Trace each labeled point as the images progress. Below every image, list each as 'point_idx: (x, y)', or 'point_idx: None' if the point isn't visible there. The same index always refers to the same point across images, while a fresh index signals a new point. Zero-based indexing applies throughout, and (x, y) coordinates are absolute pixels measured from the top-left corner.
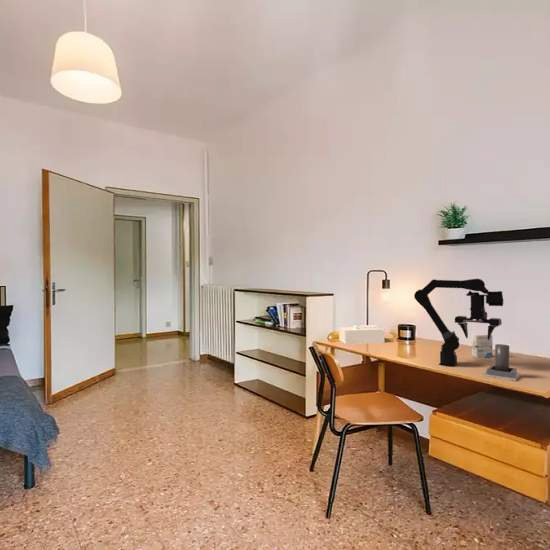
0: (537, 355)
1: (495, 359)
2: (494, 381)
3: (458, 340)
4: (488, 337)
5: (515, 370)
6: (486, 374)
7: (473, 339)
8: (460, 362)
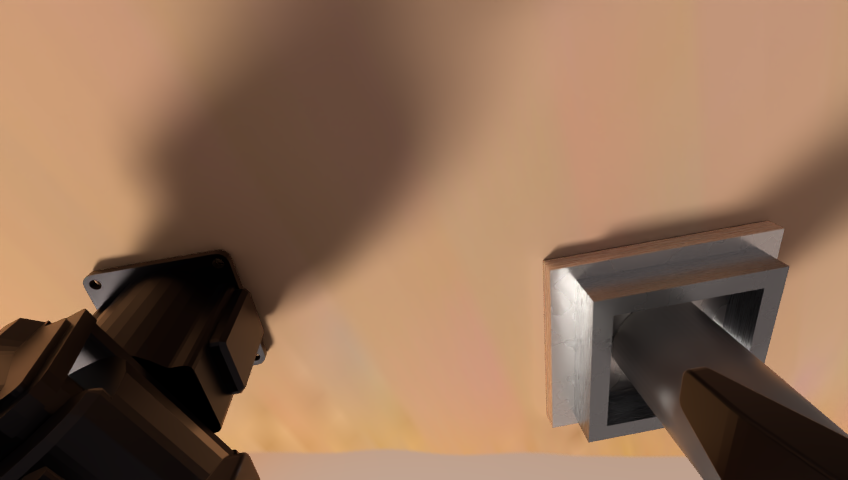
0: None
1: (686, 455)
2: (628, 456)
3: (88, 432)
4: (741, 478)
5: (772, 312)
6: (574, 423)
7: None
8: (181, 128)
